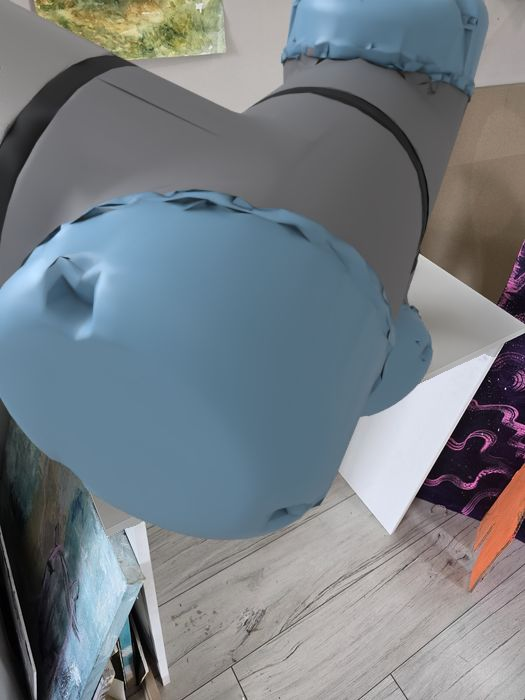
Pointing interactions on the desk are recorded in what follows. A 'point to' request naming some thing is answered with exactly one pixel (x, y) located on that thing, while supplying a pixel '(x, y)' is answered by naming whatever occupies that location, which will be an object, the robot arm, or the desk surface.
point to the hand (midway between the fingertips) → (215, 128)
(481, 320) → the desk surface
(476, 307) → the desk surface
